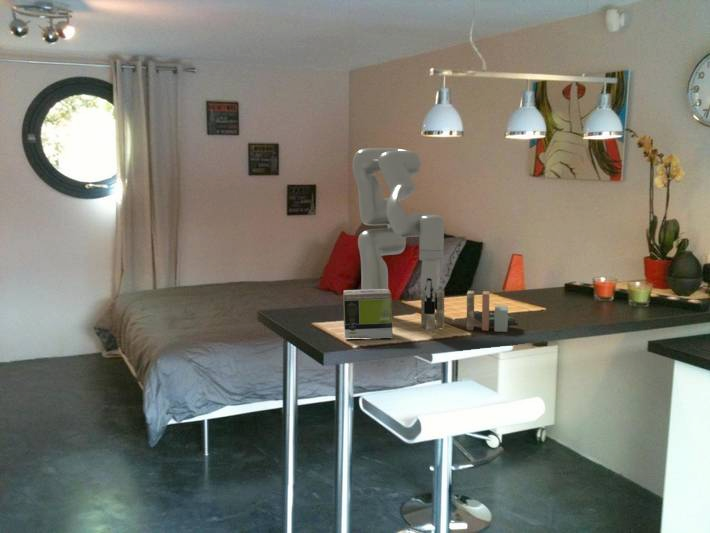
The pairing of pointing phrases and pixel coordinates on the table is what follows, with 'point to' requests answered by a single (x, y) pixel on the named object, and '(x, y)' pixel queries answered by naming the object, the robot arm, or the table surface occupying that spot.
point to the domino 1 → (423, 315)
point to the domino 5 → (485, 310)
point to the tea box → (368, 313)
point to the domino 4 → (470, 310)
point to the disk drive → (492, 317)
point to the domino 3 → (440, 309)
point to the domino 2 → (430, 321)
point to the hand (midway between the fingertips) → (430, 311)
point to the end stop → (501, 318)
